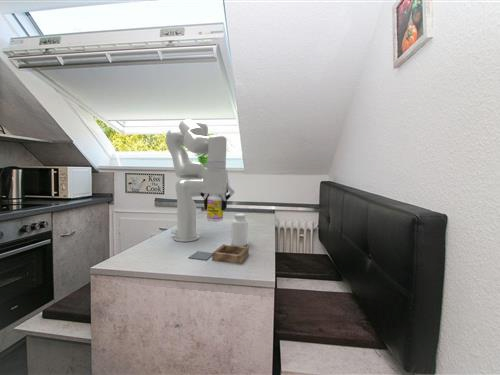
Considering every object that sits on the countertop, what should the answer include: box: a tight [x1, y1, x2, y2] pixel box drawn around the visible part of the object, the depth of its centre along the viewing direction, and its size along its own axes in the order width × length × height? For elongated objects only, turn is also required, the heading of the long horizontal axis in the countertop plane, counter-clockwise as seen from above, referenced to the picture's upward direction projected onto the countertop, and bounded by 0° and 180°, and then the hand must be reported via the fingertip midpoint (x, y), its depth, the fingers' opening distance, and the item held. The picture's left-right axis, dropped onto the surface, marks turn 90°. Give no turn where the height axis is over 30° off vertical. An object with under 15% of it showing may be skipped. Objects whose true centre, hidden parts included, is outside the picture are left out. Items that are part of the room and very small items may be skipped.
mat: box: [188, 250, 213, 261], centre depth 98 cm, size 8×8×1 cm
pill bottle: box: [230, 213, 249, 247], centre depth 116 cm, size 8×8×15 cm
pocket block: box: [211, 244, 250, 265], centre depth 98 cm, size 12×12×3 cm
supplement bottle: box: [206, 194, 224, 223], centre depth 97 cm, size 7×7×13 cm
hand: (215, 208), depth 98 cm, fingers closed on supplement bottle, 6 cm apart
